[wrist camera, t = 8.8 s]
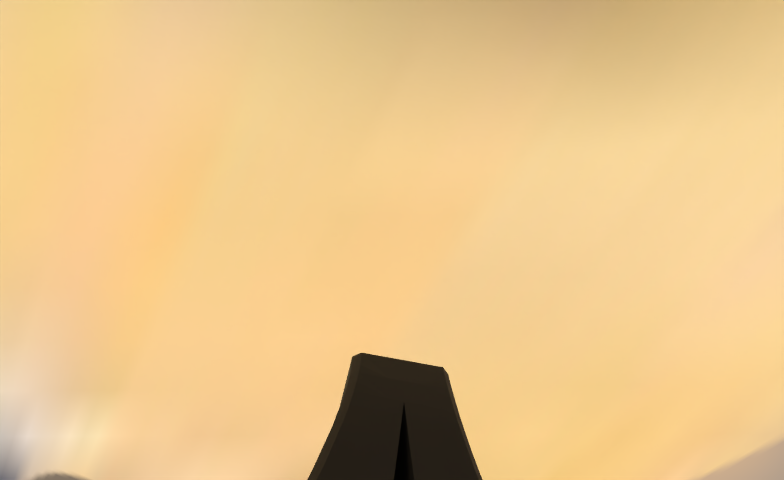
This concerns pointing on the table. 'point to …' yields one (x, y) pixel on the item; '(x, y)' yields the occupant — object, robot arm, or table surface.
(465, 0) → the table surface
